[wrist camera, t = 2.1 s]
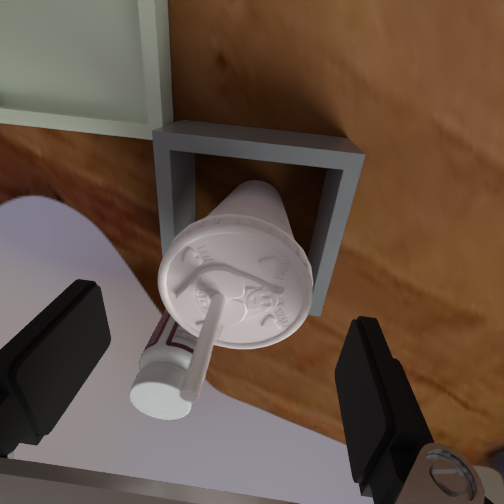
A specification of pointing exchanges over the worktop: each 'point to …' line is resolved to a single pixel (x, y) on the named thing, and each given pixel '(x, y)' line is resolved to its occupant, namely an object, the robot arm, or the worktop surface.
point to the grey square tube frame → (266, 149)
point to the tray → (86, 65)
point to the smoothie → (236, 278)
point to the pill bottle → (164, 371)
